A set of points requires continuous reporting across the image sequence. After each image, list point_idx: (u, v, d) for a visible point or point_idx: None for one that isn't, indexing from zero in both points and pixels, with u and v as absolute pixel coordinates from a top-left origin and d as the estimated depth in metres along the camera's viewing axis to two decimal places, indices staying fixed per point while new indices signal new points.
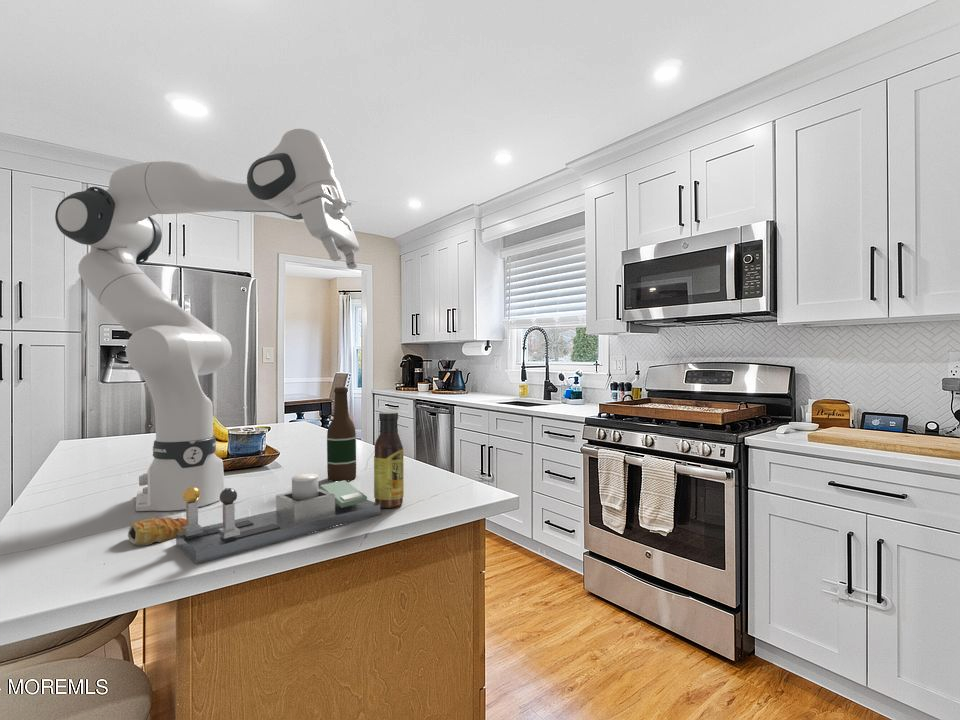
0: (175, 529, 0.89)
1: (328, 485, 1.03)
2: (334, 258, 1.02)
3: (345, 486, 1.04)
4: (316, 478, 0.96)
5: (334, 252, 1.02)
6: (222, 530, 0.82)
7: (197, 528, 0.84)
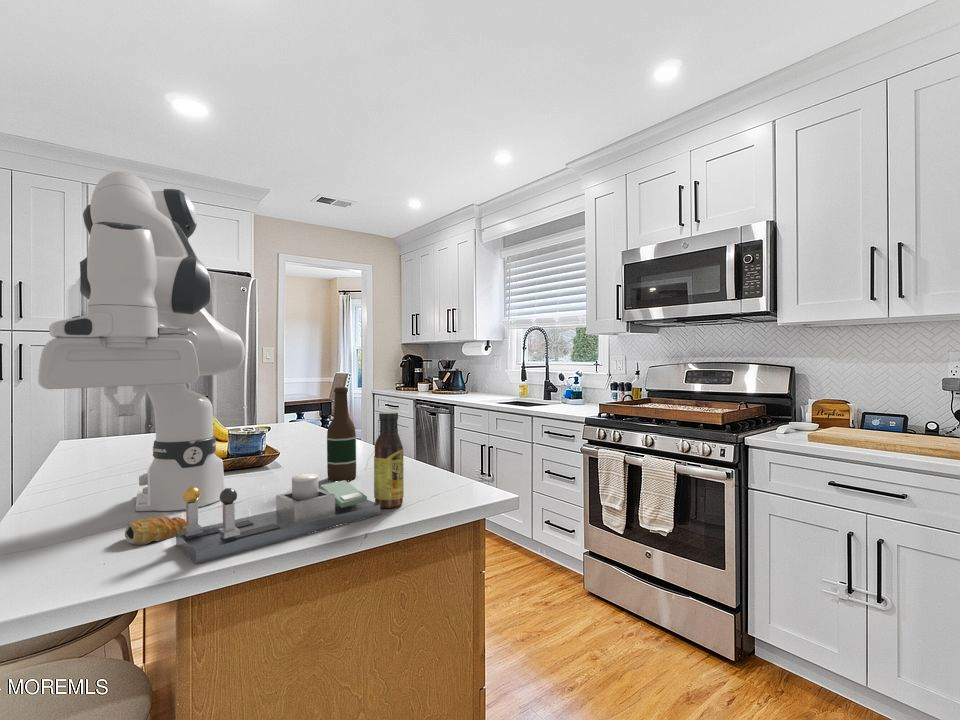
0: (173, 528, 0.90)
1: (328, 485, 1.03)
2: (114, 415, 0.77)
3: (345, 486, 1.04)
4: (316, 478, 0.96)
5: (114, 407, 0.76)
6: (222, 530, 0.82)
7: (197, 528, 0.84)
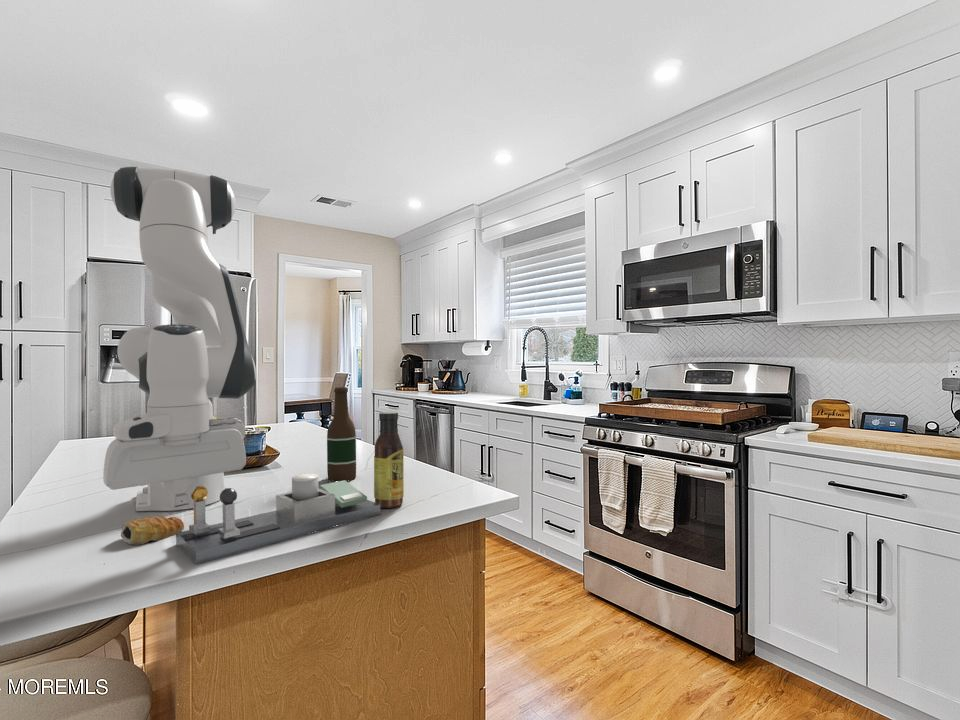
0: (170, 527, 0.90)
1: (328, 485, 1.03)
2: (170, 505, 0.82)
3: (345, 486, 1.04)
4: (316, 478, 0.96)
5: (171, 499, 0.82)
6: (222, 530, 0.82)
7: (204, 526, 0.84)
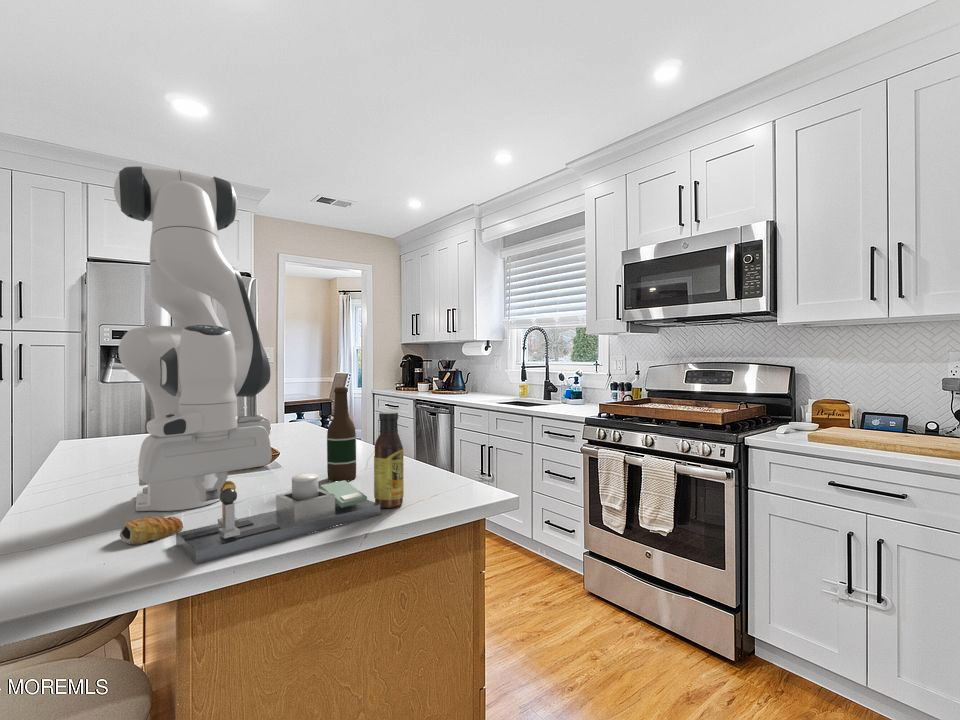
0: (169, 527, 0.90)
1: (328, 485, 1.03)
2: (201, 499, 0.85)
3: (345, 486, 1.04)
4: (316, 478, 0.96)
5: (201, 493, 0.85)
6: (222, 530, 0.82)
7: None
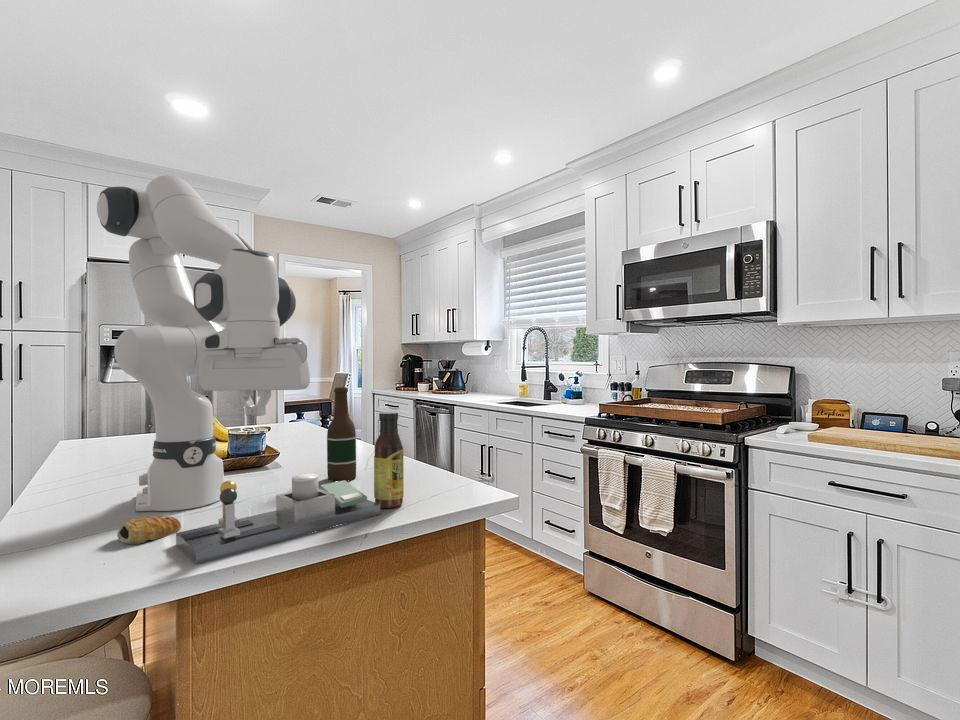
0: (167, 527, 0.90)
1: (328, 485, 1.03)
2: None
3: (345, 486, 1.04)
4: (316, 478, 0.96)
5: None
6: (222, 530, 0.82)
7: None
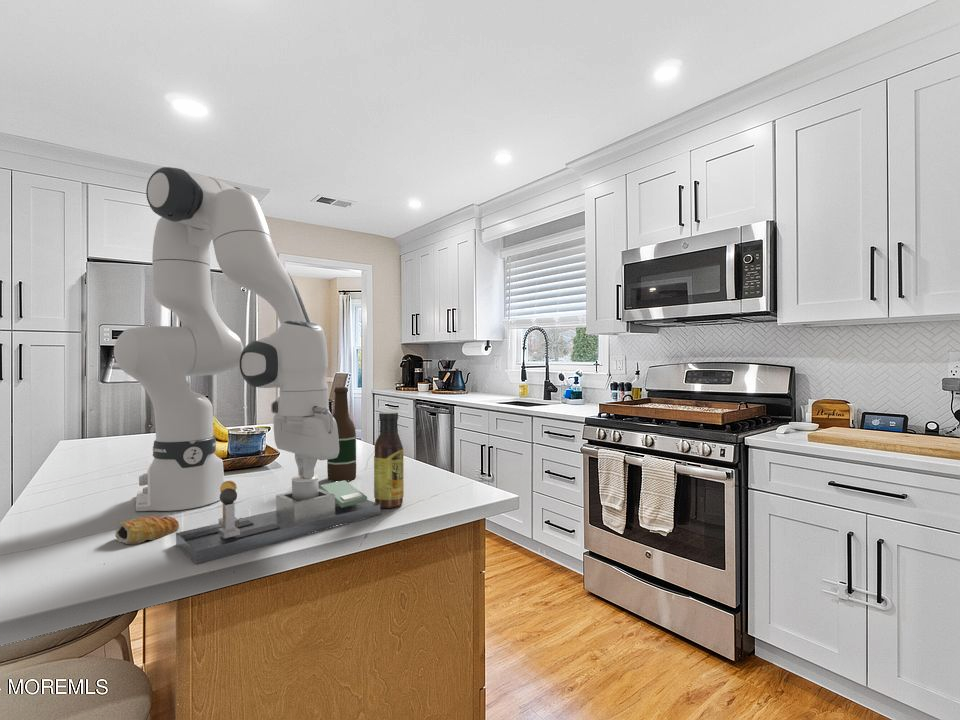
0: (166, 526, 0.90)
1: (328, 485, 1.03)
2: None
3: (345, 486, 1.04)
4: (316, 479, 0.96)
5: None
6: (222, 530, 0.82)
7: None
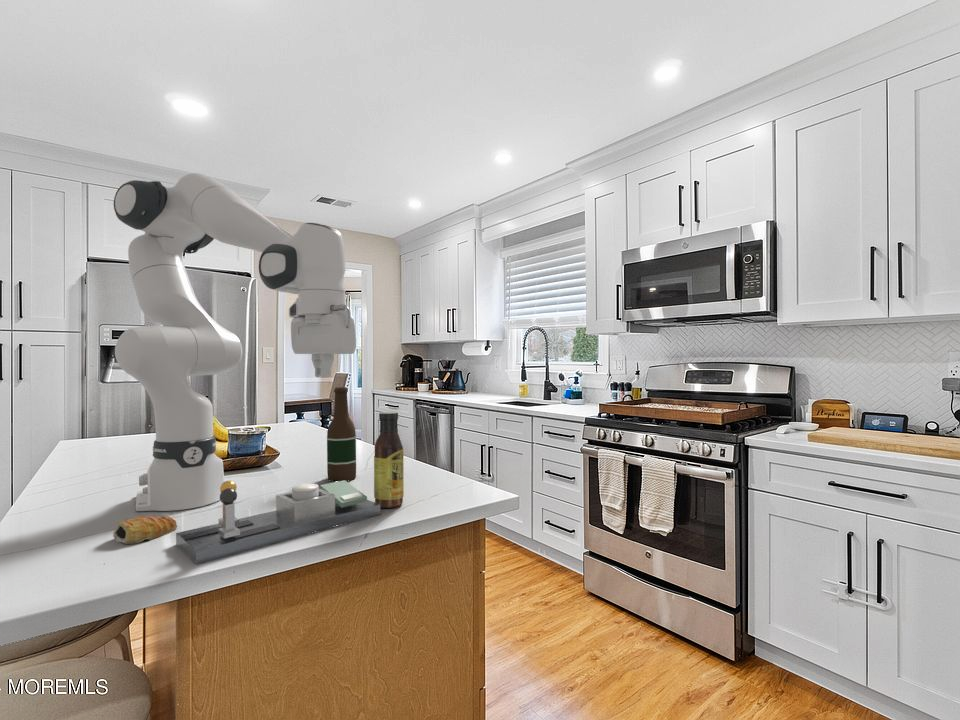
0: (164, 526, 0.91)
1: (328, 485, 1.03)
2: None
3: (345, 486, 1.04)
4: (316, 488, 0.96)
5: None
6: (222, 530, 0.82)
7: None
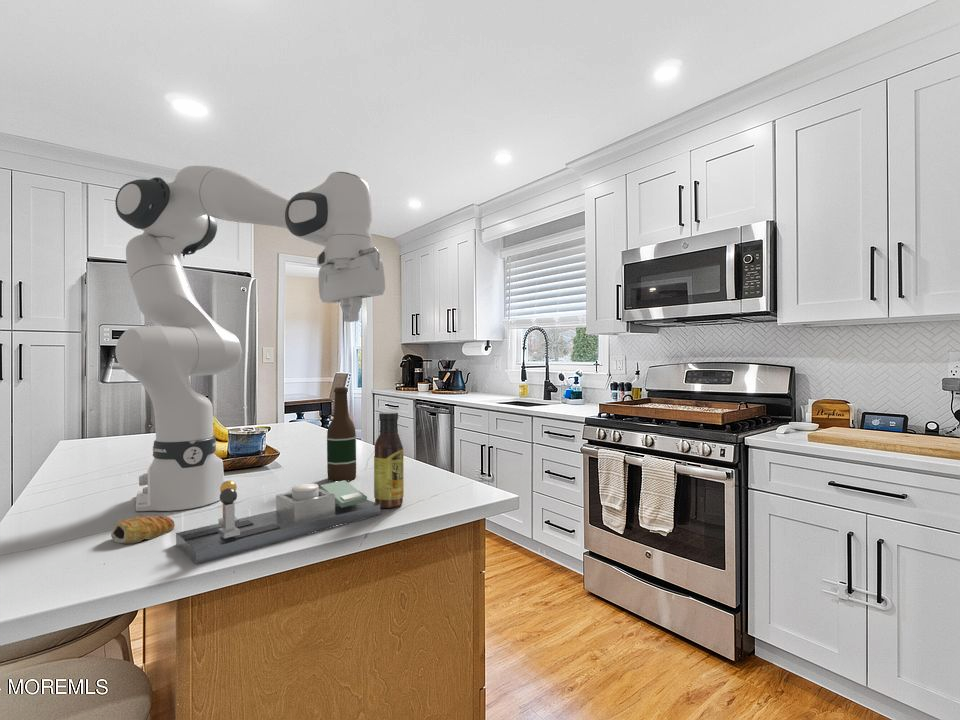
0: (162, 526, 0.91)
1: (328, 485, 1.03)
2: None
3: (345, 486, 1.04)
4: (316, 488, 0.96)
5: None
6: (222, 530, 0.82)
7: None
